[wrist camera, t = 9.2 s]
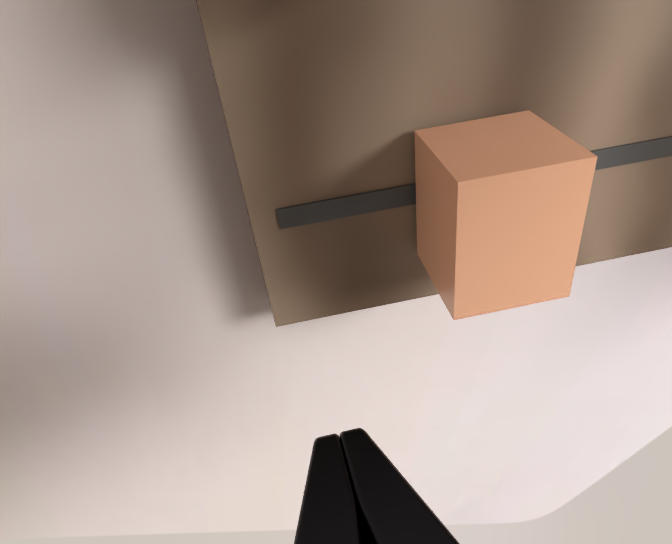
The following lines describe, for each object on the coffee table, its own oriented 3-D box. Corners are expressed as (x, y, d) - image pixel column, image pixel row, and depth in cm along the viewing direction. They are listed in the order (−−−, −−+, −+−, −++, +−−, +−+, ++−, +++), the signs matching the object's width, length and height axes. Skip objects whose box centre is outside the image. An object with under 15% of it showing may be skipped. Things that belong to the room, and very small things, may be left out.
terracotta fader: (528, 110, 17) (597, 156, 14) (514, 234, 20) (569, 296, 17) (414, 130, 17) (457, 182, 14) (417, 253, 20) (453, 320, 17)
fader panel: (965, -494, 13) (1078, -555, 11) (708, 211, 25) (744, 233, 23) (102, -416, 11) (80, -473, 9) (272, 297, 23) (276, 328, 21)
